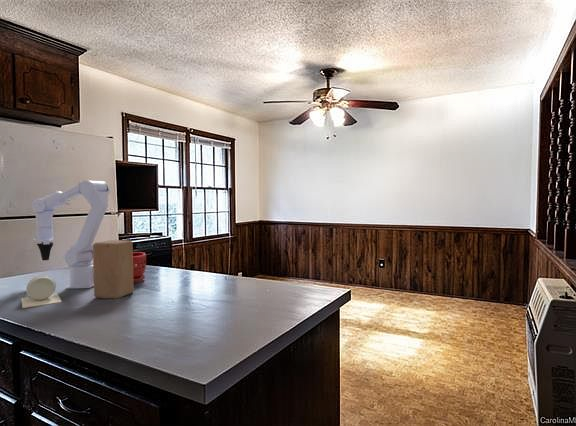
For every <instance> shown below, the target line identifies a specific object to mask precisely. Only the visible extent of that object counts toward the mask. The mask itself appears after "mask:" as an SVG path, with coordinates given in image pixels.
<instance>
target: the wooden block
mask: <svg viewBox="0 0 576 426" xmlns="http://www.w3.org/2000/svg"><path fill="white" fill-rule="evenodd" d="M92 245H93V260H92V262H93V263H92V265H93V267H94V286H93V293H94V294H93V296H94V297H95V298H98V299H112V298H113V300H114V299H116V300H117V299H119V298H122V297H125V296H127V295H130V294H132V293H134V290H135V289H134V288H135V287H134V283H133V252H134V251H133V250H134V248H133V241H131V240H123V239H122V240H121V239H119V240H118V239H117V240H116V239H115V240H113V239H110V240H104V241H97V242H95V243H94V242H93V243H92Z"/></svg>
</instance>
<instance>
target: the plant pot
mask: <svg viewBox="0 0 576 426" xmlns="http://www.w3.org/2000/svg"><path fill="white" fill-rule="evenodd" d="M146 266H147V254H146V252H144V251H143V252H142V251H133V284H136V283H140V282H141V281H144V279H145V277H146V275H145V274H144V273H145V270H146V268H147V267H146Z"/></svg>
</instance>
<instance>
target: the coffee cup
mask: <svg viewBox="0 0 576 426" xmlns="http://www.w3.org/2000/svg"><path fill="white" fill-rule="evenodd" d="M55 291H56V282H55V280H54V279H53V278H52V277H51V276H49V275H48V276H47V275H37V276H35V277H33V278H31V280H29V282H28V283H27V285H26V294H27V295H28V297H31V298H32V299H35V300H44V299H47V298H49V297H50V296H51V295H52V294H55Z"/></svg>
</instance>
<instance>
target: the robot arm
mask: <svg viewBox="0 0 576 426" xmlns="http://www.w3.org/2000/svg"><path fill="white" fill-rule="evenodd" d="M110 192H111V189H110V187H109V185H108V183H107V182H105V181H104V180H88V179H85V180H82V181H79V182H77V184H75V185H74V186H71V187H69V188H68V189H66V190H64V191H60V190H54V191H52V193H51V194H49V195H45V196H44V197H43V198H39V197H38V198H35V199H34V200H33V201H32V202H31V209H32V211H33V212H34V213H35V228H36V229H35V231H36V238H32V240H33V241H35V242H36V241H37V242H41V243H36V246H37V247H38V249H39V252H40V256H41V260H42V261H49V260H50V256H51V255H50V254H51V250H52V247H53V246H54V242H53V241H54V239H55V238H54V231H53V230H54V229H53V216H54V212H55V210H56V209H57V208H59V207H62V206H64V205H66V204H67V203H68V200H69V199H72V198H74V197H77V196H80V195H82V196H83V198H84V199H85V200H86V201H87V202H88V204H90V209H89V211H88V214H87V216H86V218H85V220H84V224H83V226H82V228H81V230H80V233H79V236H78V238H77V240H76V241H75V242H74V243H73V244H71V245H70V247H69V249H68V250H67V251H65V254H64V262H65V264H67V265H68V267H69V285H68V286H65V289H66V290H67V289H68V290H69V289H90V288H92V287H93V288H94V267H93V264H92V262H93V244H94V240H95V238H96V236H97V233H98V231H99V228H100V226H101V223H102V222H103V219H104V216H105V214H106V211H107V210H108V207H109V195H110Z"/></svg>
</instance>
